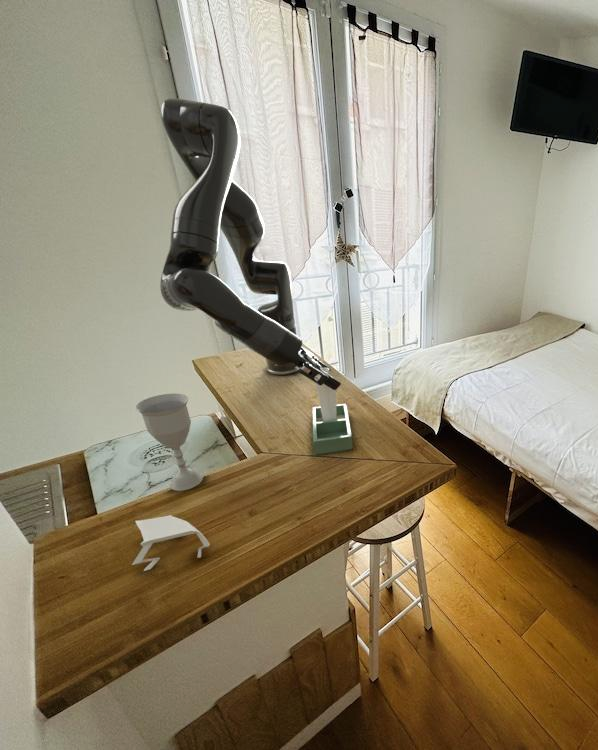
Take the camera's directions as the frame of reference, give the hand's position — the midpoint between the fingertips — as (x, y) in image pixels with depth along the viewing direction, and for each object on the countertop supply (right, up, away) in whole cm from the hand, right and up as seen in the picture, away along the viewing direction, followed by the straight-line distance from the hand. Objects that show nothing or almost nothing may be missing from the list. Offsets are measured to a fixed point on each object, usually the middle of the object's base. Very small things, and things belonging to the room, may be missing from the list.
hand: (332, 379), depth 95 cm
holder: (-1, -13, +2) cm, 14 cm away
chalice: (-22, -20, -17) cm, 34 cm away
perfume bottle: (-3, -11, +4) cm, 12 cm away
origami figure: (-13, -28, -31) cm, 43 cm away
